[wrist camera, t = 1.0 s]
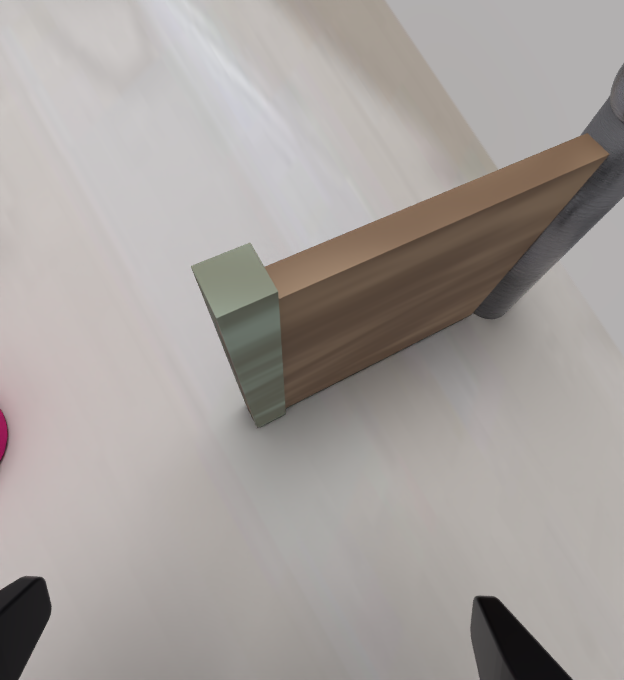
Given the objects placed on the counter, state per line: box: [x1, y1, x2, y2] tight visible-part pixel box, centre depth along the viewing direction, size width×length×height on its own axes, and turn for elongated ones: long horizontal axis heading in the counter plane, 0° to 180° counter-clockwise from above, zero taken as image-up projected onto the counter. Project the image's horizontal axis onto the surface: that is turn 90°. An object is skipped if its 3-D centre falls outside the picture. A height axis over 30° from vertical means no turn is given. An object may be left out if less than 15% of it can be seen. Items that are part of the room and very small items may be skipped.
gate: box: [191, 133, 610, 428], centre depth 19 cm, size 2×16×14 cm, turn 118°
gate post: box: [474, 64, 624, 319], centre depth 21 cm, size 4×4×17 cm
